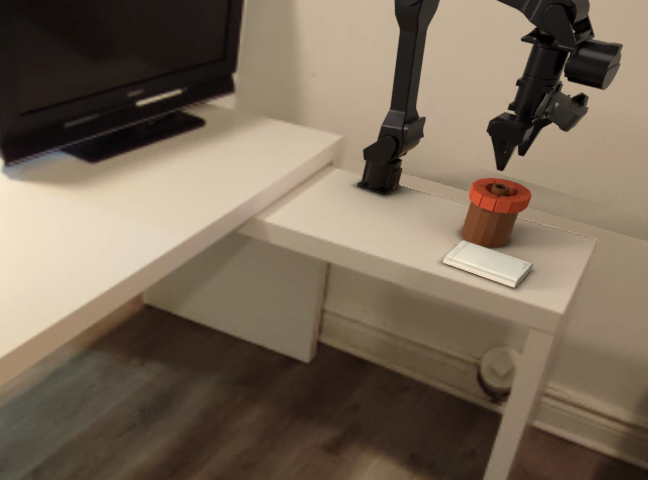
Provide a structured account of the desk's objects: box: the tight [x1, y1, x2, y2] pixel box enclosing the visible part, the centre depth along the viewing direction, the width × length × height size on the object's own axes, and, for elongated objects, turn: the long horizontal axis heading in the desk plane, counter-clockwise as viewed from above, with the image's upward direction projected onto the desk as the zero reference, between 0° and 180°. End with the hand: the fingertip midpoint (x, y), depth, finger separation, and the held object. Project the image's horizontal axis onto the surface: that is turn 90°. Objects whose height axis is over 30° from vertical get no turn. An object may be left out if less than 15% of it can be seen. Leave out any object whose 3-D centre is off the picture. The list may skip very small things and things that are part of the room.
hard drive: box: [443, 239, 534, 289], centre depth 138 cm, size 2×8×12 cm
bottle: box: [460, 183, 520, 249], centre depth 144 cm, size 8×8×10 cm
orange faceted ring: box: [468, 177, 532, 214], centre depth 142 cm, size 10×10×2 cm
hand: (510, 162), depth 142 cm, fingers open, 9 cm apart
